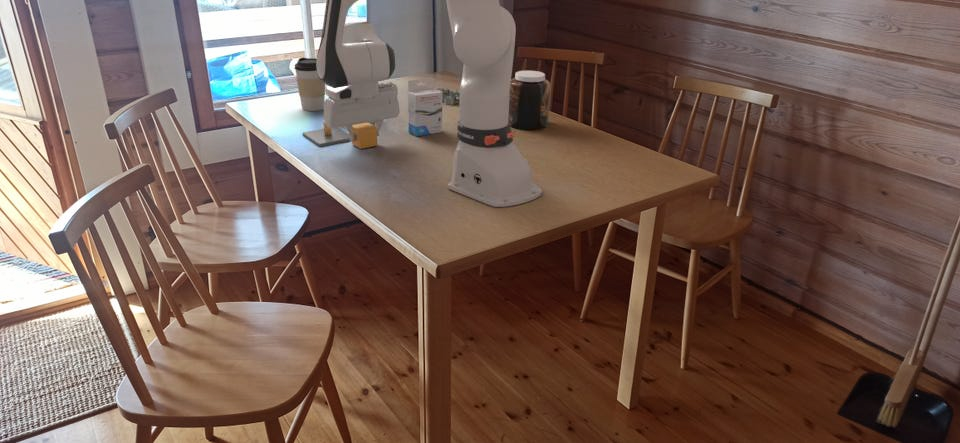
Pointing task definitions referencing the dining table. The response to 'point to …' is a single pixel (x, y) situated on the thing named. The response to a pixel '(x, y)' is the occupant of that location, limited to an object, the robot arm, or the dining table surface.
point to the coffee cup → (310, 85)
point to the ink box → (424, 107)
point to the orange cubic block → (365, 135)
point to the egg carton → (450, 96)
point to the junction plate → (327, 136)
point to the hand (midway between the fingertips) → (364, 138)
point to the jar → (529, 101)
